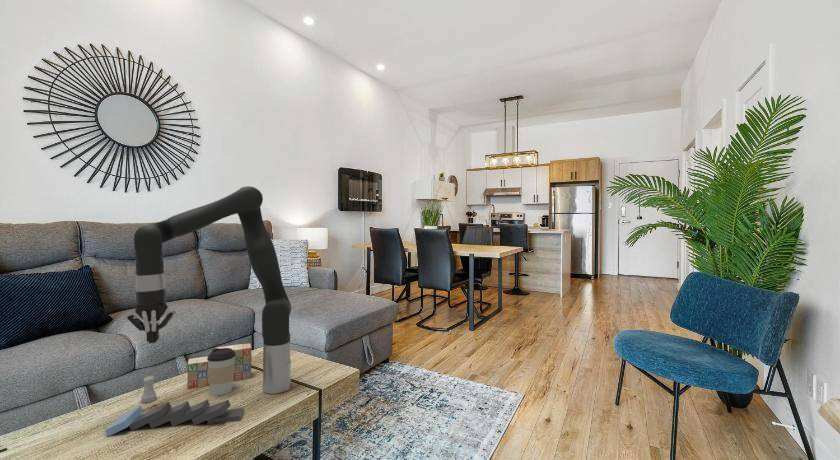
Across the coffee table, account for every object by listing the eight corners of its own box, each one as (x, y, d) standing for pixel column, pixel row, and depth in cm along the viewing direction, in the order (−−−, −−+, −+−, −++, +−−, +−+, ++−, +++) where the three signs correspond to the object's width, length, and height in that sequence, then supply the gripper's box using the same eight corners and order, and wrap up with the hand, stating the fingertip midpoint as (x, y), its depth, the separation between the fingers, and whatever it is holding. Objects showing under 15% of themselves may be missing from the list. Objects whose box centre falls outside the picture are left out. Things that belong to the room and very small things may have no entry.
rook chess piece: (147, 404, 119) (148, 380, 119) (137, 402, 120) (137, 379, 120) (160, 397, 124) (160, 374, 124) (149, 396, 125) (149, 373, 124)
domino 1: (141, 421, 108) (171, 407, 110) (131, 431, 103) (163, 415, 105) (138, 416, 108) (168, 401, 110) (128, 425, 103) (160, 409, 105)
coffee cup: (241, 387, 132) (241, 347, 132) (220, 398, 123) (220, 355, 123) (222, 384, 135) (222, 344, 135) (200, 394, 126) (201, 352, 126)
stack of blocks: (187, 389, 130) (187, 356, 130) (188, 383, 136) (188, 350, 136) (251, 378, 141) (251, 347, 141) (250, 372, 146) (250, 342, 146)
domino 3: (180, 417, 111) (210, 405, 113) (172, 426, 106) (204, 413, 108) (177, 412, 111) (207, 399, 113) (170, 420, 106) (201, 407, 108)
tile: (143, 411, 111) (126, 427, 102) (126, 419, 110) (108, 436, 101) (140, 405, 110) (123, 421, 102) (123, 414, 109) (104, 430, 101)
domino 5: (213, 417, 113) (244, 414, 115) (207, 425, 108) (240, 422, 110) (213, 411, 113) (244, 407, 115) (207, 419, 108) (240, 415, 110)
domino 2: (159, 419, 110) (190, 406, 112) (151, 428, 105) (183, 414, 107) (156, 414, 109) (187, 400, 111) (148, 422, 105) (181, 408, 107)
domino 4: (203, 415, 112) (230, 405, 112) (194, 425, 107) (222, 414, 107) (200, 409, 112) (228, 399, 112) (191, 419, 107) (220, 408, 107)
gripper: (179, 285, 118) (181, 336, 119) (132, 287, 115) (134, 341, 115) (169, 288, 111) (172, 344, 112) (119, 292, 108) (122, 348, 108)
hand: (152, 342), depth 113 cm, fingers closed
